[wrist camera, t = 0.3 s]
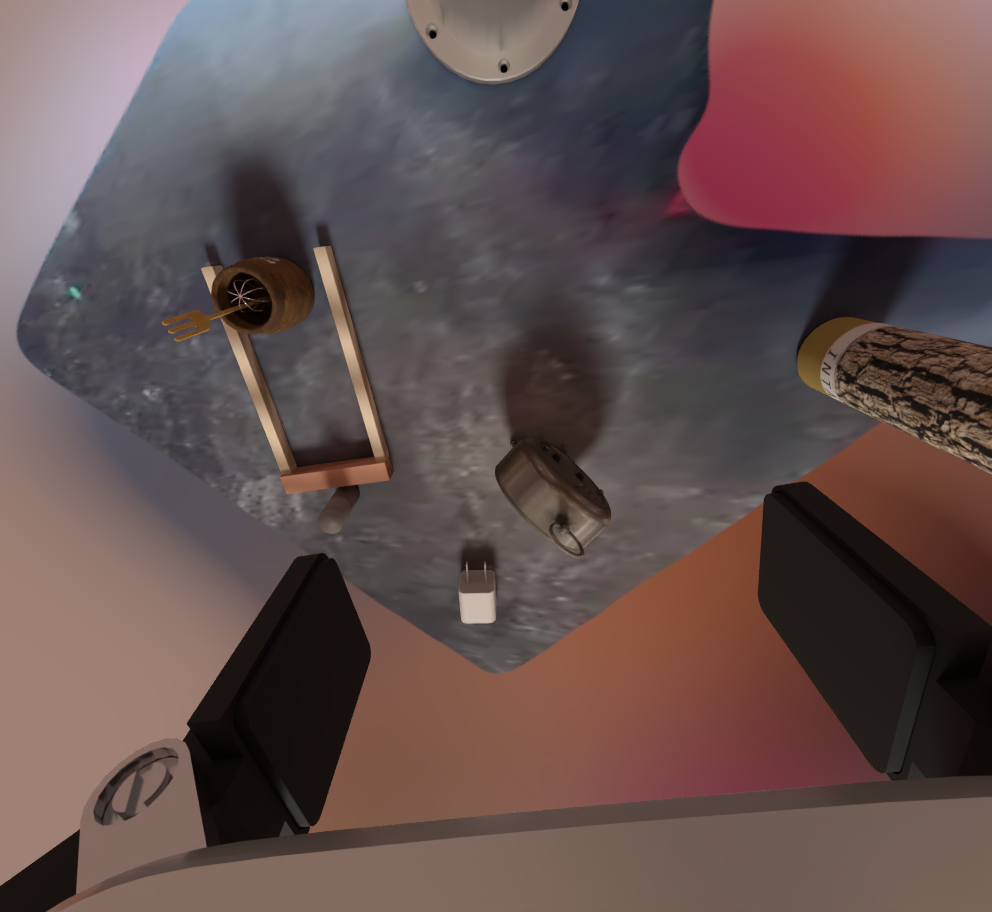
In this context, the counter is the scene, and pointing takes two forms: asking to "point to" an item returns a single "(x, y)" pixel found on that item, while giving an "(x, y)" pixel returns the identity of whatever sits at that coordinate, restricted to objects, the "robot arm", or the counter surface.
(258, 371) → the guide channel
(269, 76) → the counter surface
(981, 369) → the paper tube
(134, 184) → the counter surface
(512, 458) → the alarm clock
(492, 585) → the usb wall charger
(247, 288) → the utensil holder
